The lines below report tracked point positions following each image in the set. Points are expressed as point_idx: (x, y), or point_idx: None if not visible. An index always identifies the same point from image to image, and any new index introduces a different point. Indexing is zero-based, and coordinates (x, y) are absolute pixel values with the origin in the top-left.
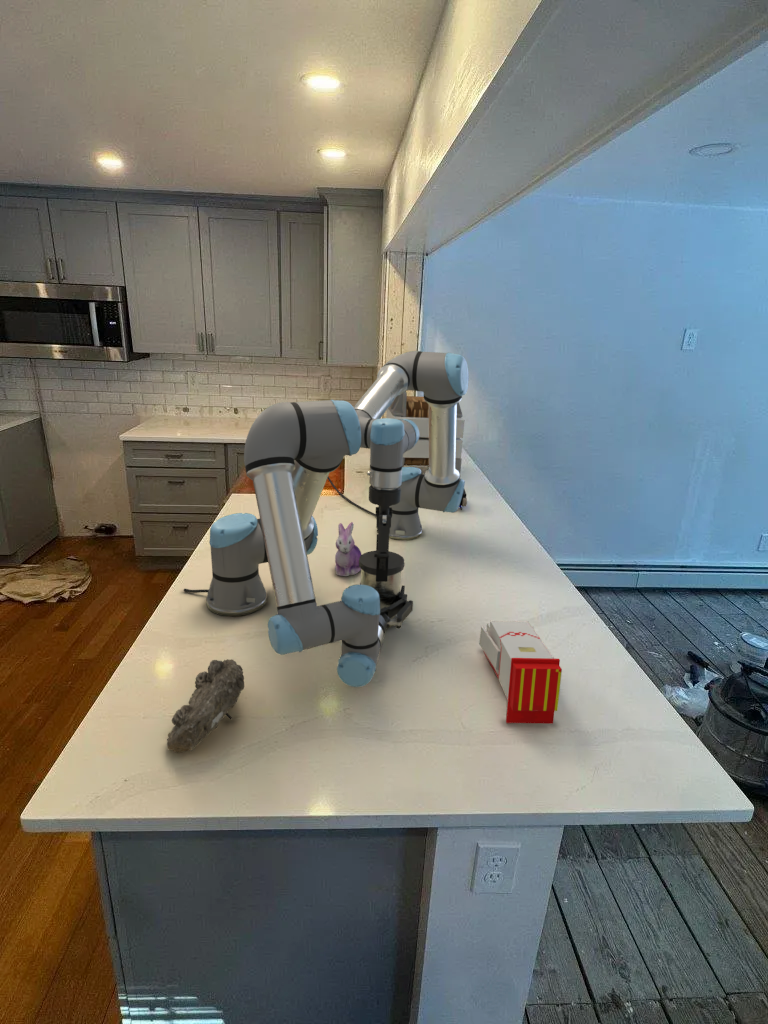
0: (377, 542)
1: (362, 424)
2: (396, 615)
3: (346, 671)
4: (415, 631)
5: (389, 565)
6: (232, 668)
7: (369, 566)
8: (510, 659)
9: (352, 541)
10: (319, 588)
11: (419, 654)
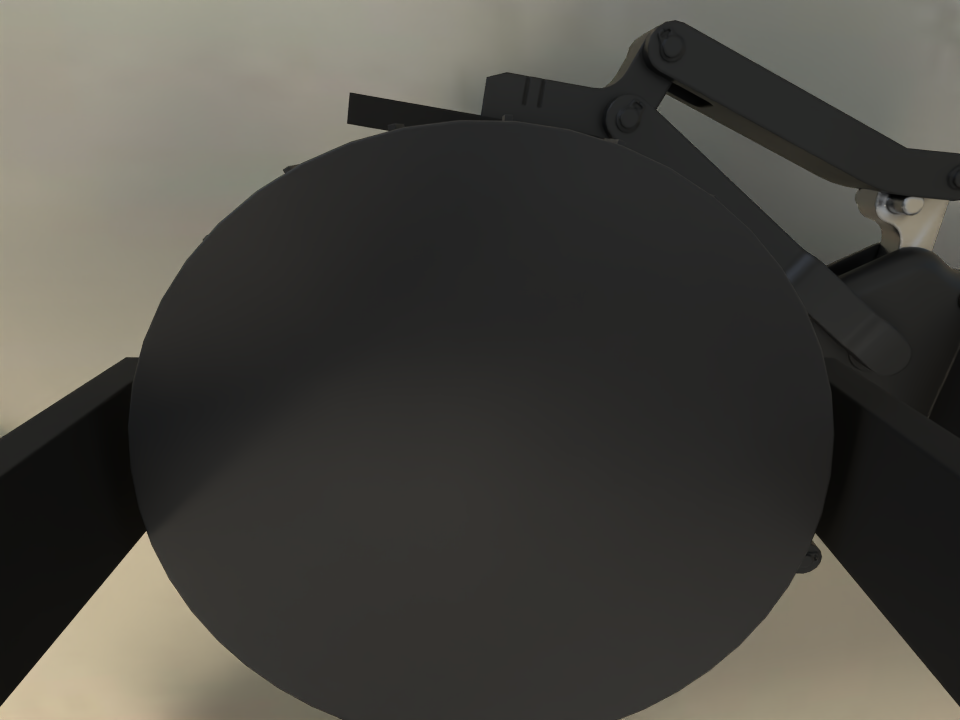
0: (38, 638)
1: None
2: (908, 198)
3: None
4: (634, 23)
5: (698, 385)
6: None
7: (718, 637)
8: None
9: None
10: (169, 601)
11: (911, 15)
